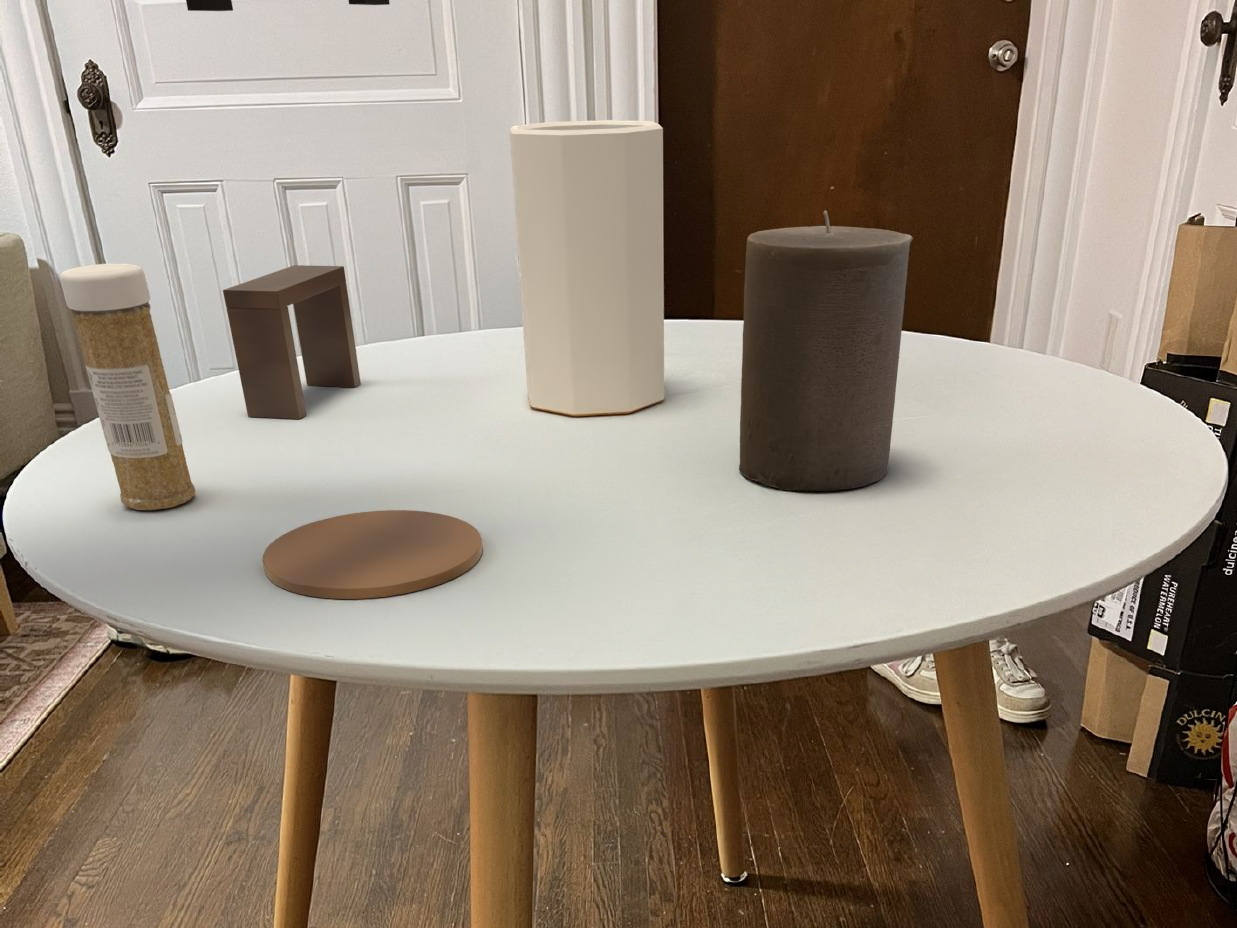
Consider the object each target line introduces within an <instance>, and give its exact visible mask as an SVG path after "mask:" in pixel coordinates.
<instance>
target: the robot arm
mask: <svg viewBox="0 0 1237 928" xmlns="http://www.w3.org/2000/svg"><path fill="white" fill-rule="evenodd" d="M185 3H186V8H187V11H189V12H233V11H234V8H233V1H232V0H185ZM348 5H353V6H355V5H357V6H358V5H359V6H360V5H361V6H387V5H388V6H389V5H390V0H348Z"/></svg>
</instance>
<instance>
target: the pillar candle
mask: <svg viewBox="0 0 1237 928" xmlns="http://www.w3.org/2000/svg"><path fill="white" fill-rule="evenodd" d="M823 216H824V221H825V225H816V226H814V225H813V226H812V225H811V226H797V227H796V226H794V227H783V228H782V227H781V228H773V229H764V230H759V231H756V232H753V233H750V234H749V235H748V236H747V239H746V248H745V249H746V251H745V269H744V286H743V324H742V354H741V355H742V356H741V380H740V381H741V383H740V416H739V417H740V418H739V464H738V469H739V471H740V474H741V475H743V476H744V477H746V478H748V480H751V481H755V482H758V483H761V484H763V485H765V486H767V487H772V488H776V489H779V490H781V491H791V492H792V491H798V492H799V491H802V492H803V491H804V492H828V491H829V492H830V491H840V490H852V489H857V488H862V487H864V486H868V485H870V484H872V483H875V482H877V481H879V480H881V479H883V478H884V477H885V476H886V475H887V473H888V469H889V465H890V464H889V463H890V455H891V453H890V452H891V442H892V432H893V423H894V421H893V420H894V413H895V412H894V411H895V404H896V403H895V402H896V394H897V393H896V391H897V383H898V372H899V361H900V351H901V343H902V342H901V341H902V331H903V320H904V310H905V299H906V285H907V280H908V279H907V278H908V266H909V265H908V264H909V254H910V248H911V247H910V246H911V243H912V241H913V239H914V237H913V236H912V235H911V234H907V233H902V232H898V231H895V230H889V229H882V228H867V227H866V228H865V227H856V226H855V227H854V226H843V225H841V226H840V225H838V226H836V225H830V219H829V214H828V211H827V210H824V211H823Z"/></svg>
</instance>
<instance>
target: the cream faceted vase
mask: <svg viewBox="0 0 1237 928" xmlns="http://www.w3.org/2000/svg"><path fill="white" fill-rule="evenodd" d="M509 142H510V155H511V156H510V157H511V170H512V184H513V199H514V214H515V228H516V243H517V256H518V257H517V258H518V272H519V273H518V274H519V289H520V301H521V316H522V317H521V318H522V333H523V344H524V345H523V347H524V361H525V373H526V375H525V376H526V389H527V390H526V391H527V396H528V397H527V398H528V400H529V405H530V407H532V408H533V409H534V410H539V411H543V412H544V411H545V412H549V413H553V414H559V415H564V416H565V415H566V416H569V417H570V416H571V417H591V416H610V415H625V414H632V413H633V412H636V411H638V410H642V409H644V408H647V407H650V406H653V405H655V404H658V403H661V402H662V401H664V400H665V306H664V305H665V294H664V293H665V291H664V290H665V283H664V282H665V281H664V278H665V277H664V274H665V271H664V269H665V267H664V266H665V265H664V264H665V263H664V262H665V261H664V259H665V258H664V255H665V254H664V127H662V126H661V125H660V124H659V123H657V122H656V121H652V120H622V119H621V120H620V119H598V120H569V121H568V120H566V121H546V122H536V123H526V124H516V125H512V126H511V128H510V129H509Z"/></svg>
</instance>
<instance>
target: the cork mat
mask: <svg viewBox="0 0 1237 928" xmlns="http://www.w3.org/2000/svg"><path fill="white" fill-rule="evenodd" d="M481 535H482V534H481V533H480V532H479V530H478V529H477V528H476V527H475V526H473V524H471V523H469V522H467V521H465V520H462V519H460V518H458V517H454V516H451V515H447V514H444V513H443V514H442V513H437V512H430V511H423V510H409V509H406V510H405V509H389V510H388V509H387V510H386V509H385V510H371V511H361V512H353V513H347V514H341V515H336V516H332V517H327V518H323V519H319V520H316V521H313V522H310V523H306V524H303V525H301V526H299V527H296V528H293V529H291V530H289V531H287V532H286V533H284V534H281V536H279V537H277V538H275V539H274V540H273V541H271V543H269V545H267V547H266V548H265V550H264V552H263V554H262V564H263V565H262V566H263V569H264V573H265V576H266V577H267V579H268V580H269V581H271V583H273V584H274V585H276V586H277V587H279V588H281V589H282V590H286V591H288V592H292V593H294V594H298V595H301V596H308V597H314V598H323V599H337V600H361V599H362V600H363V599H375V598H386V597H392V596H398V595H404V594H405V595H406V594H409V593H415V592H418V591H423V590H426V589H429V588H433V587H436V586H438V585H441V584H445V583H446V582H449V581H451V580H454V579H456V578H457V577H460V576H461V575H463V574H465V573H466V572H468V571H470V570H471V569H472V568H473V567H474V566H475V565H477V563H478V562H479V560H480V559H481V557H482V554H483V538H482V536H481Z"/></svg>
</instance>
